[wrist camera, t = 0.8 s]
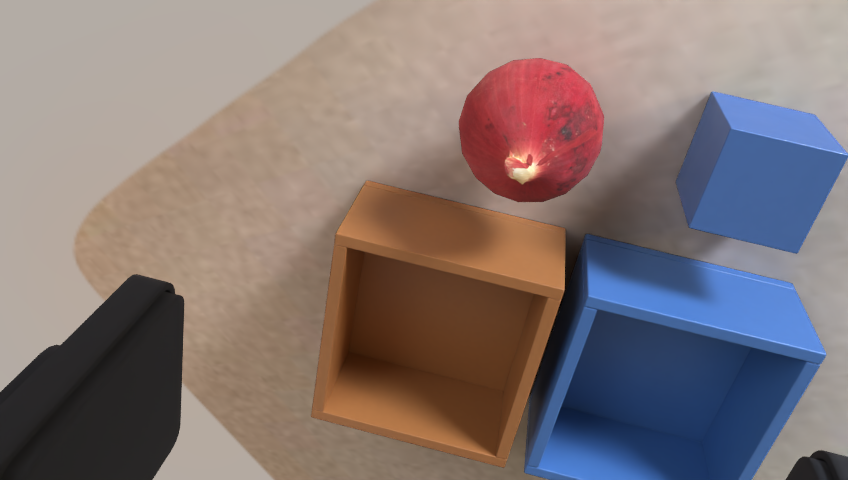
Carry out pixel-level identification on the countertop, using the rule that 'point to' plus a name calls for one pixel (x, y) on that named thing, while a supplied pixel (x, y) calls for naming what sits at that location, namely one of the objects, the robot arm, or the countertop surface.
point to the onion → (531, 129)
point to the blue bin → (666, 369)
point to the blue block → (758, 172)
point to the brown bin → (436, 321)
